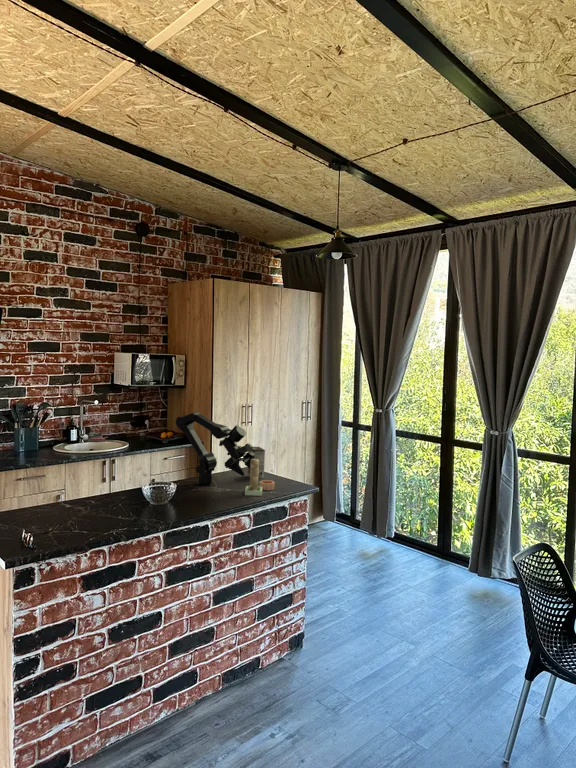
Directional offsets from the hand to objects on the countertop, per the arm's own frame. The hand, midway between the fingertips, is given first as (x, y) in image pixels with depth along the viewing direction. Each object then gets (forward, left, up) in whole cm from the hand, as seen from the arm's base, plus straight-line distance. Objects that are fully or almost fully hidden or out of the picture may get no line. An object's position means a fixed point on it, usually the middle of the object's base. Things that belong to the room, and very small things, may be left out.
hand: (249, 473), depth 261 cm
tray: (+3, -1, -9) cm, 10 cm away
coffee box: (+2, +30, -10) cm, 32 cm away
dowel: (+3, -1, -9) cm, 9 cm away
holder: (+9, +8, -9) cm, 15 cm away
